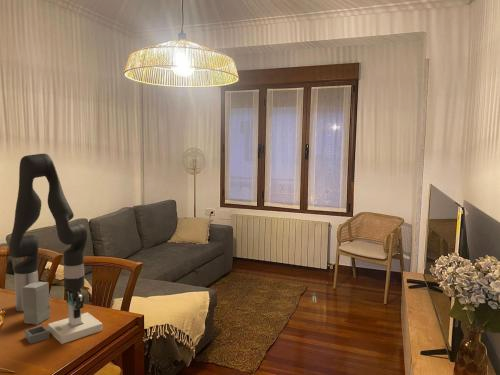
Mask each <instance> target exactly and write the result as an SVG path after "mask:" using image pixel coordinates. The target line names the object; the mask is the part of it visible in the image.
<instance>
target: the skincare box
mask: <svg viewBox="0 0 500 375" xmlns="http://www.w3.org/2000/svg"><path fill="white" fill-rule="evenodd" d="M49 284H50V283H49V282H46V281H38V282H37V281H36V282H34V283H31V284H28V285H27V286H24V287H22V289H23V306H24V311H23V323H24V324H29V325H36V326H39V325H40V324H41V323H42V322H45V321H46V320H48V319H49V318H51V312H50V310H51V309H50V307H51V306H50V288H49V287H50V286H49Z"/></svg>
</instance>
